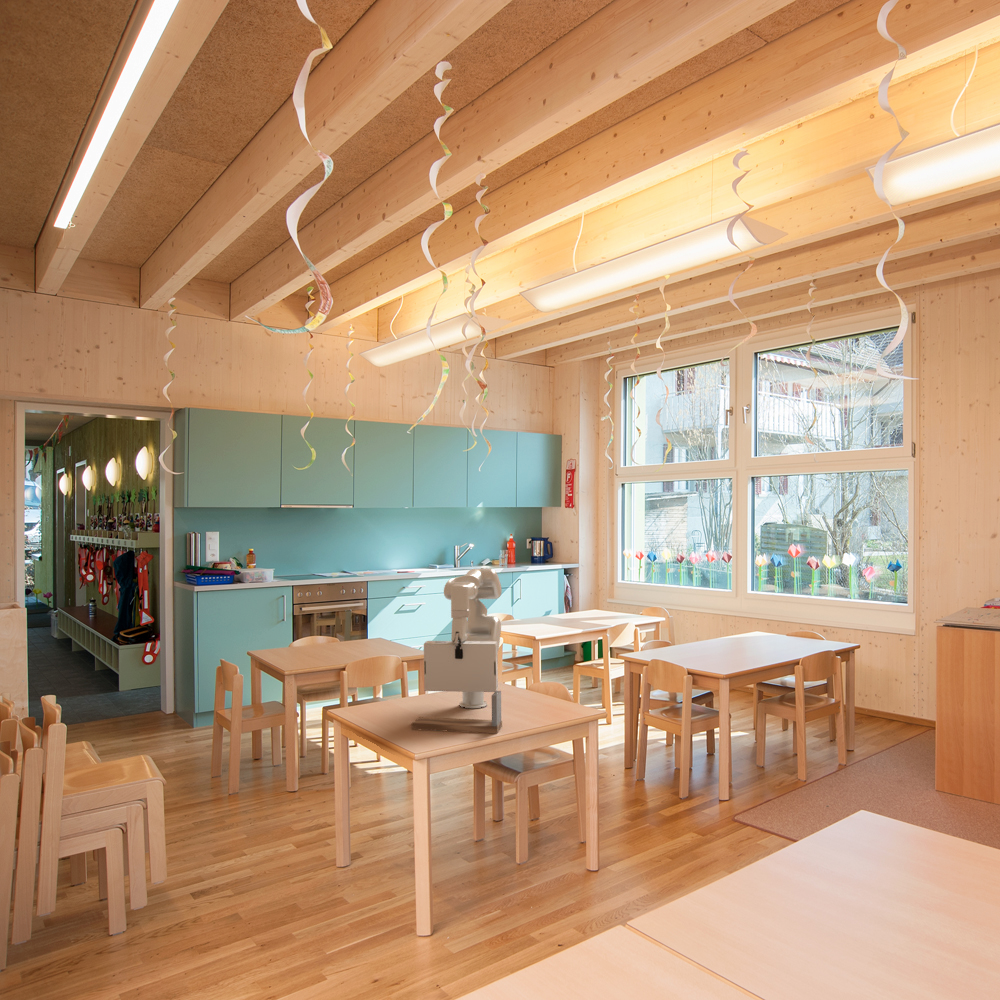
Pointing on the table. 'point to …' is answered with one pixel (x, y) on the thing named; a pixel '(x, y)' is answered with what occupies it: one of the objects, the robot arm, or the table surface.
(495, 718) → the bookend
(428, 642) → the packaging
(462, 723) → the shelf
